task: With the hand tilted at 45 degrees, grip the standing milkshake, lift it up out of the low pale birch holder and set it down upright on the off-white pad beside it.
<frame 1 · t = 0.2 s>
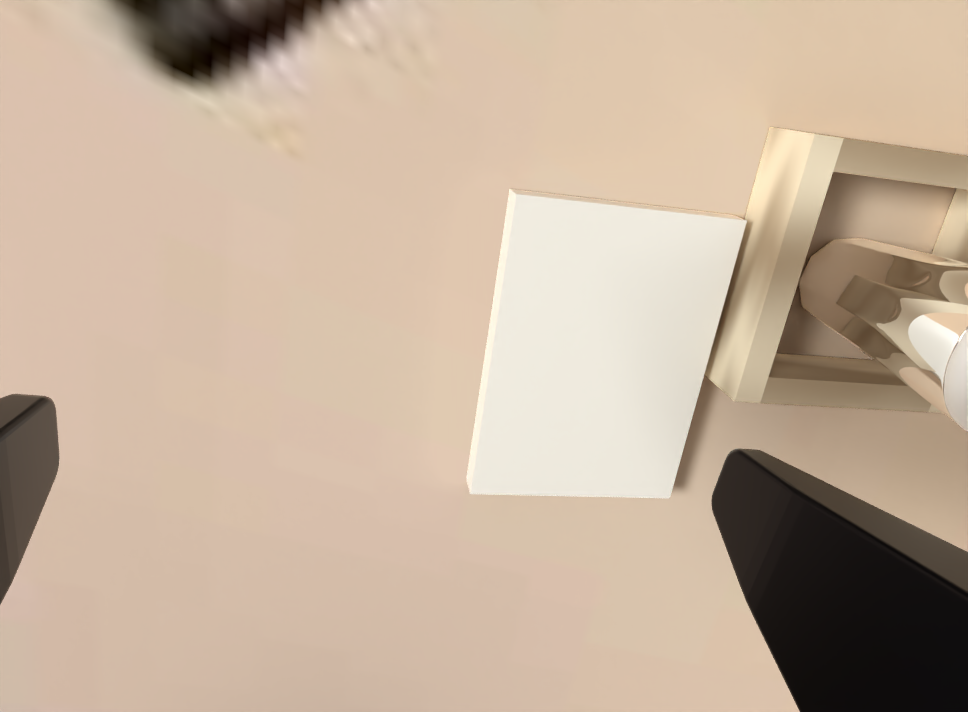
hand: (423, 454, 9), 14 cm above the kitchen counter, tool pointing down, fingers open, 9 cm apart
milkshake: (839, 267, 26), on the kitchen counter
holder: (843, 268, 26), on the kitchen counter
pad: (593, 353, 25), on the kitchen counter
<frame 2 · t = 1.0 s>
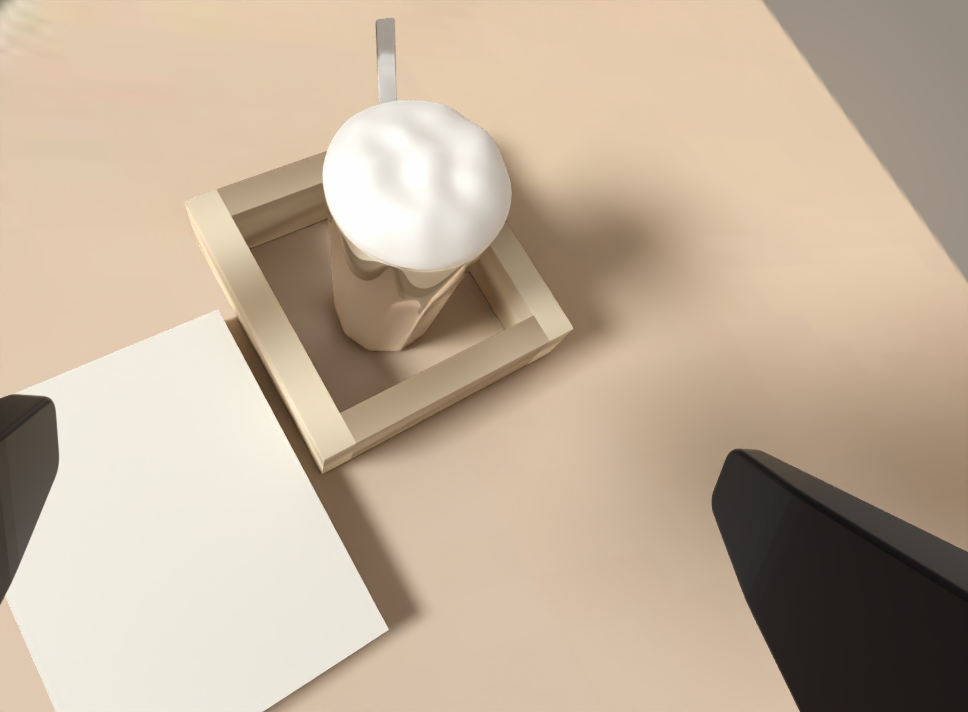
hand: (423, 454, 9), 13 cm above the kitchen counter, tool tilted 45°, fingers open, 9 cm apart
milkshake: (378, 301, 24), on the kitchen counter
holder: (379, 298, 24), on the kitchen counter
pad: (172, 534, 20), on the kitchen counter
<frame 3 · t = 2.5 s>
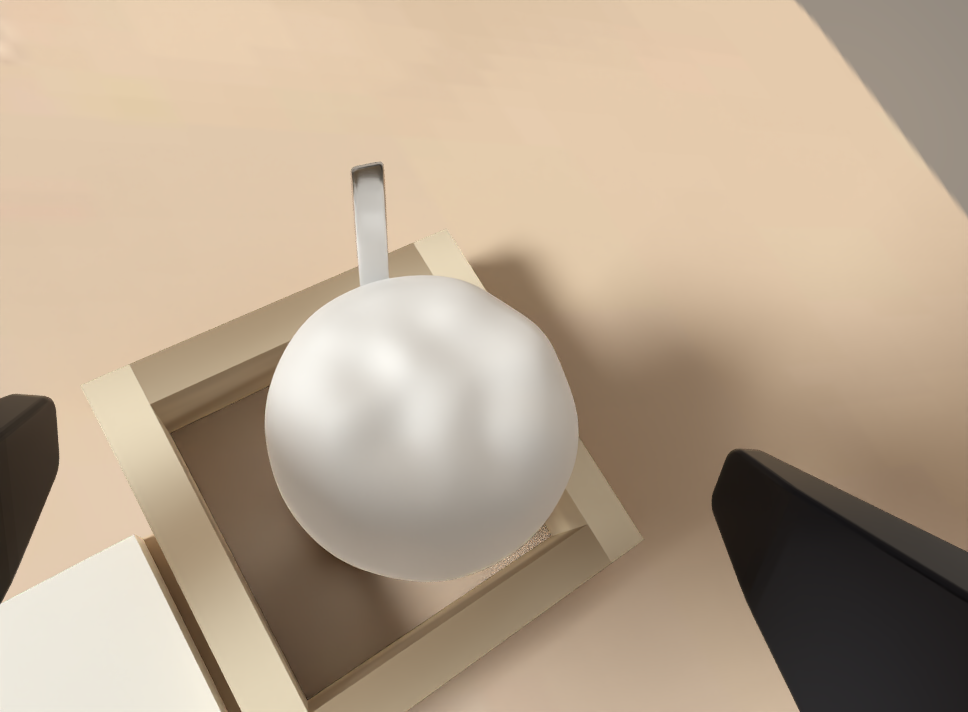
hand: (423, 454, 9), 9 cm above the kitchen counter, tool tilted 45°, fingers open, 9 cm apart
milkshake: (367, 488, 18), on the kitchen counter
holder: (368, 486, 18), on the kitchen counter
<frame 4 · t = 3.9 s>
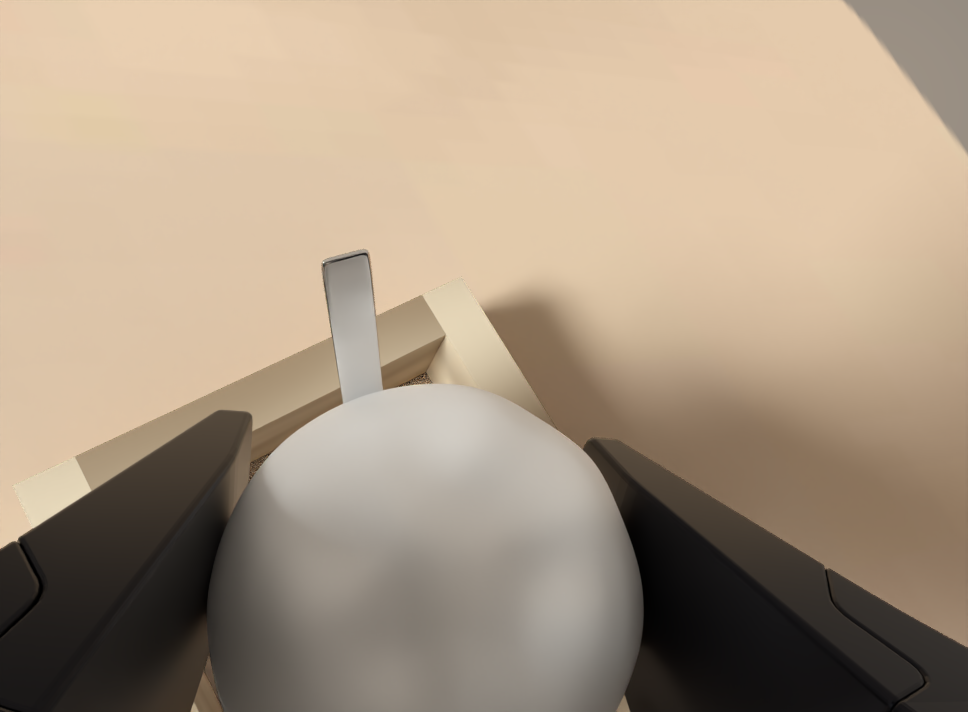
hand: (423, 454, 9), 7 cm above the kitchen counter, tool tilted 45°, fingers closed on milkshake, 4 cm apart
milkshake: (368, 583, 15), on the kitchen counter, touching gripper
holder: (368, 582, 15), on the kitchen counter
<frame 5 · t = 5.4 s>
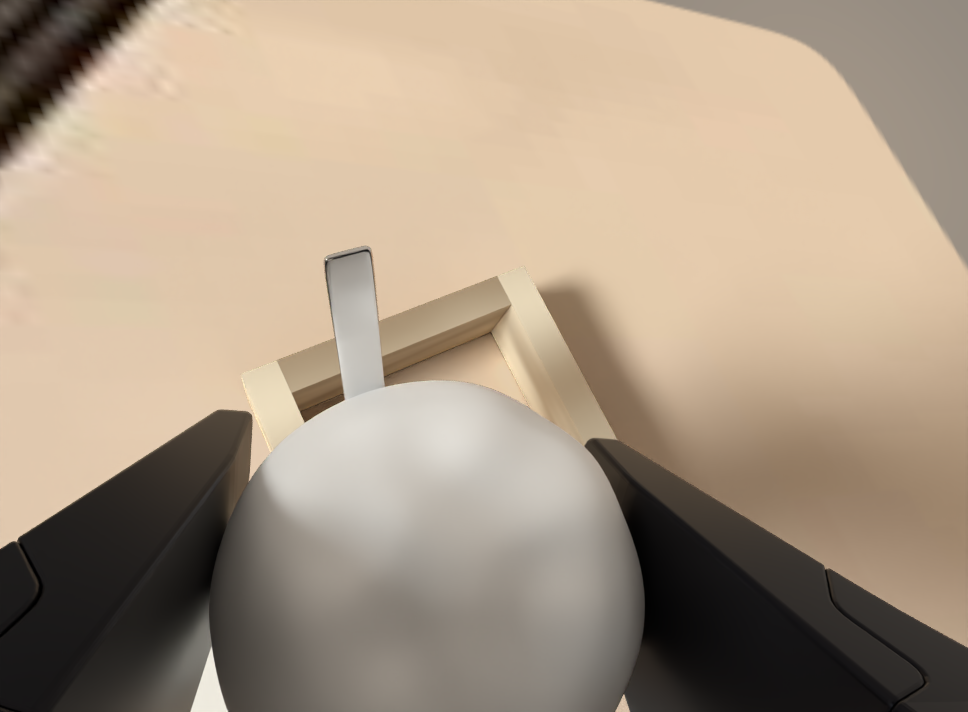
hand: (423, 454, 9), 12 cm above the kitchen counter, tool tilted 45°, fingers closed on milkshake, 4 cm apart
milkshake: (369, 580, 15), point 5 cm above the kitchen counter, touching gripper
holder: (444, 470, 22), on the kitchen counter
when the fingers open (8 cm above the kitchen counter, at t = 7.1 s): milkshake stays where it is, resting on pad.
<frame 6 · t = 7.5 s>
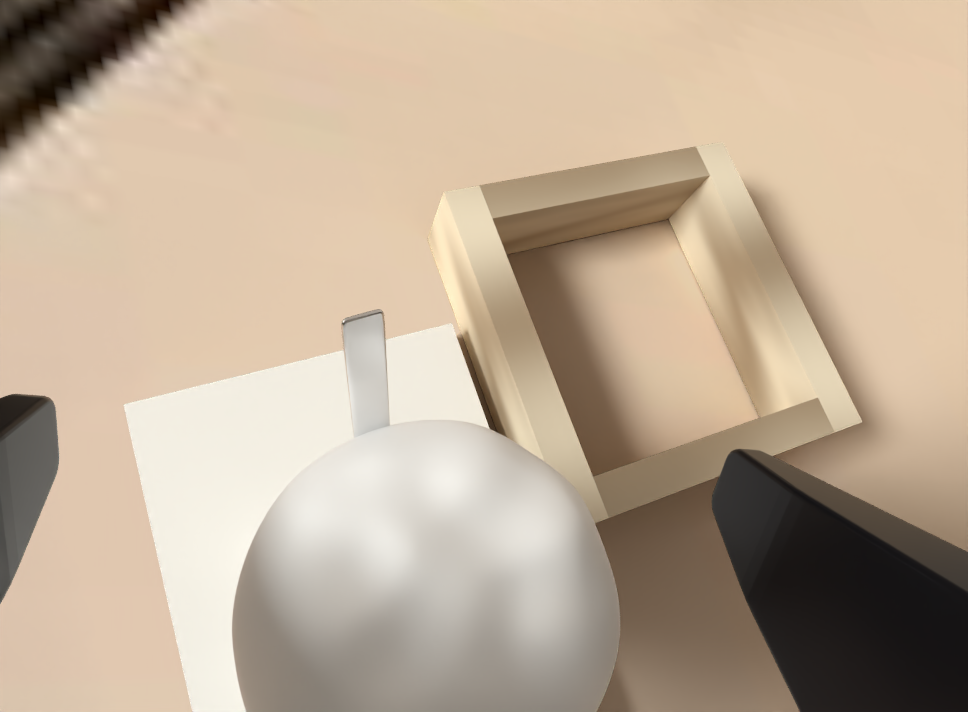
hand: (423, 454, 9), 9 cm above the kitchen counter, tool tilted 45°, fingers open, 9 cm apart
milkshake: (365, 591, 16), point 1 cm above the kitchen counter, touching pad
holder: (618, 342, 21), on the kitchen counter
pad: (362, 584, 17), on the kitchen counter
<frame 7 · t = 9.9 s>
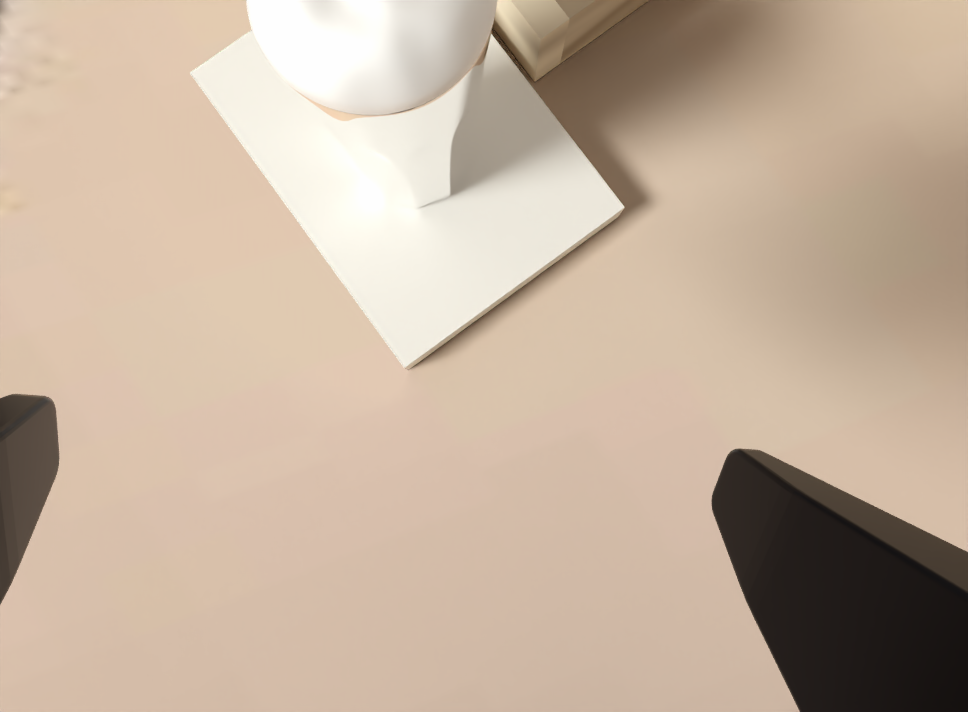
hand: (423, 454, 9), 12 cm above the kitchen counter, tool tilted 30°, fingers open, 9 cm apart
milkshake: (407, 147, 21), point 1 cm above the kitchen counter, touching pad
pad: (408, 152, 22), on the kitchen counter
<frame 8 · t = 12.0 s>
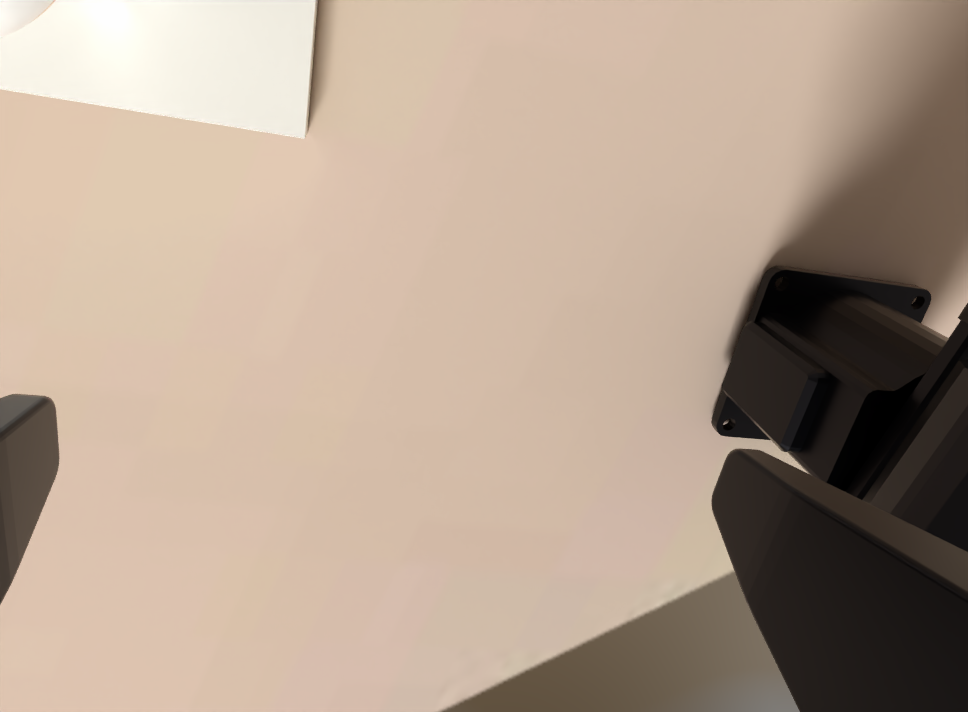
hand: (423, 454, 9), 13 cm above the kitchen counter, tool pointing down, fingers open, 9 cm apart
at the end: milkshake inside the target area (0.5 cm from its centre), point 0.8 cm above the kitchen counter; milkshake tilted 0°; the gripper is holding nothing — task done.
